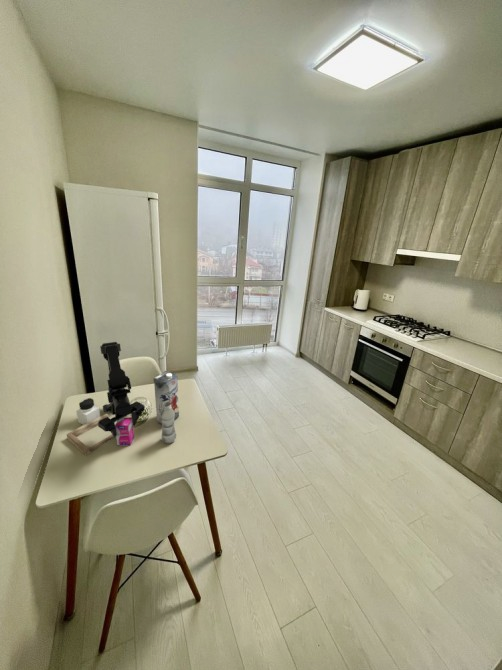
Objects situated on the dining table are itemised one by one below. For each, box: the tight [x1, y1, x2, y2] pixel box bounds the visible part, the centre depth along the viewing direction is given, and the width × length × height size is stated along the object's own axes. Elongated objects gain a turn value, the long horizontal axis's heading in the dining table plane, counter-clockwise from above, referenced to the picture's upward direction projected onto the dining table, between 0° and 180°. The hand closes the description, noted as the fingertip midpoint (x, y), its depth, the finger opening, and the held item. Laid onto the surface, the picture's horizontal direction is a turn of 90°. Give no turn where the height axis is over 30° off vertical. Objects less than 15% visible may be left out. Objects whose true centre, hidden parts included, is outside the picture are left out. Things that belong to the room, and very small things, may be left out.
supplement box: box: [115, 417, 135, 447], centre depth 119 cm, size 6×6×12 cm
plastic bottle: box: [160, 402, 177, 444], centre depth 120 cm, size 6×7×20 cm
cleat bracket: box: [66, 413, 116, 456], centre depth 123 cm, size 18×16×3 cm
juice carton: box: [153, 370, 180, 424], centre depth 132 cm, size 9×10×27 cm
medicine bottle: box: [76, 397, 101, 426], centre depth 130 cm, size 7×7×12 cm
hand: (124, 430), depth 119 cm, fingers open, 9 cm apart
